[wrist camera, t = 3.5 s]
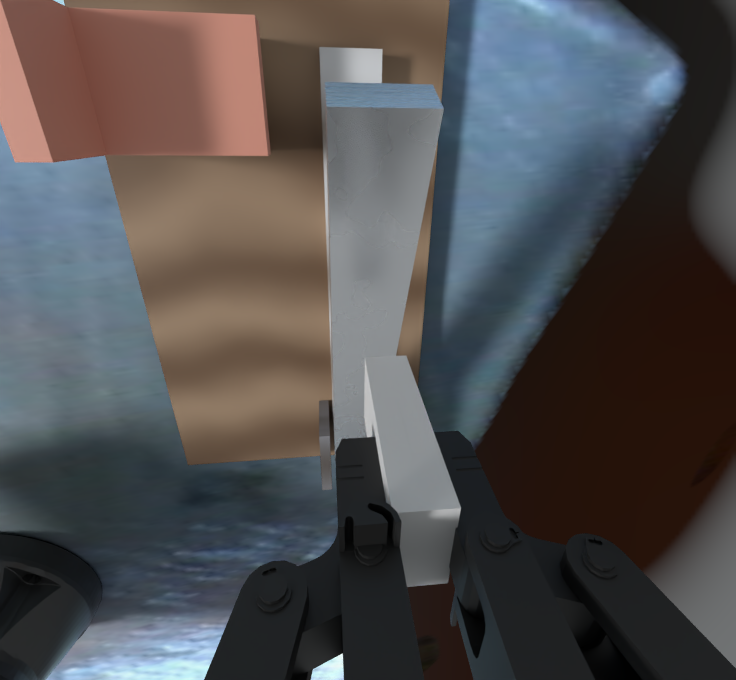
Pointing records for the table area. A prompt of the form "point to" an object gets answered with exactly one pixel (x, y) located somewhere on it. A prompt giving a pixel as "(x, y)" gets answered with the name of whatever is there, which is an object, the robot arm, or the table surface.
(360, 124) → the tong arm
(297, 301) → the brown piece
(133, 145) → the bracket
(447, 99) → the table surface
